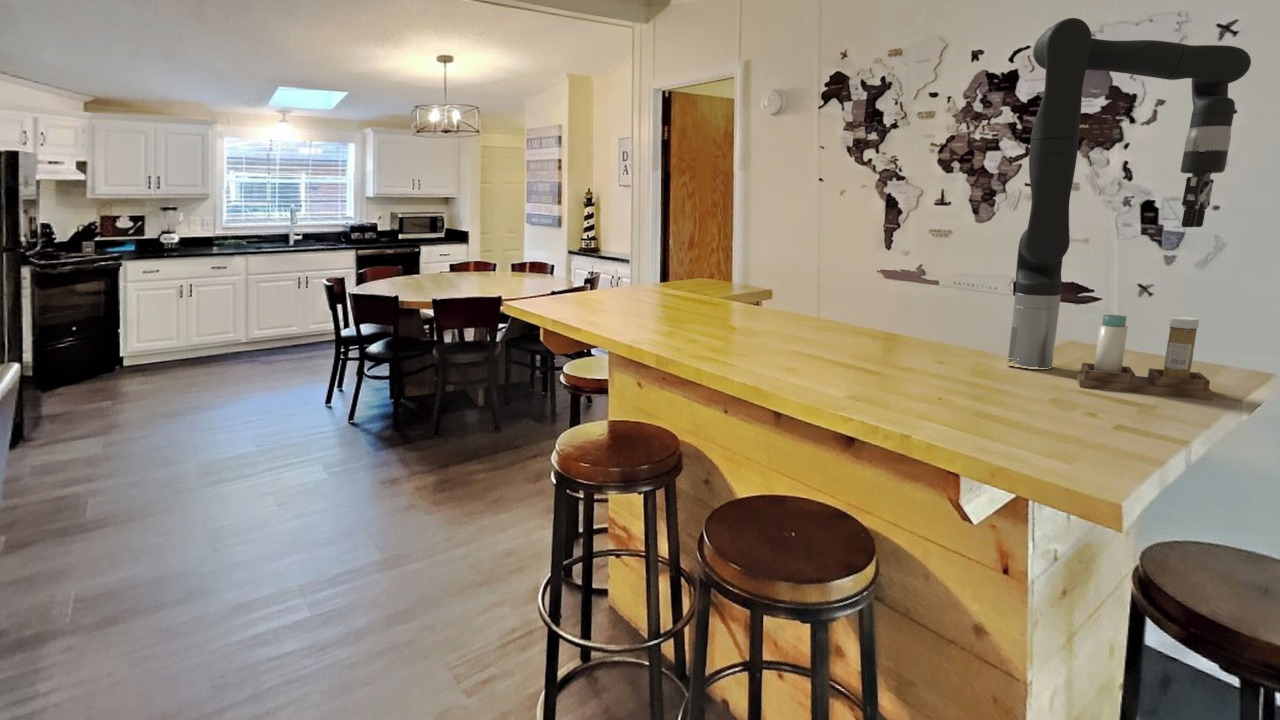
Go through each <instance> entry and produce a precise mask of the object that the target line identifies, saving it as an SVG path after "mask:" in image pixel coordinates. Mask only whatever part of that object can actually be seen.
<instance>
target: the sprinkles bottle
mask: <svg viewBox="0 0 1280 720" xmlns="http://www.w3.org/2000/svg"><path fill="white" fill-rule="evenodd" d="M1199 325H1200V319H1199V318H1196V317H1191V316H1190V317H1189V316H1172V317H1171V318H1170V320H1169V334H1168V340H1167V345H1166V351H1165V352H1166V353H1165V358H1164V365H1163V366H1164V368H1163V370H1164V372H1163V376H1164V377H1175V378H1187V379H1189V376H1190V372H1191V369H1192V364H1193V359H1194V349H1195V344H1196V336H1197V335H1196V334H1197V331H1198V328H1199Z"/></svg>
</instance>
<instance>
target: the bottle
mask: <svg viewBox="0 0 1280 720" xmlns="http://www.w3.org/2000/svg"><path fill="white" fill-rule="evenodd" d="M1127 318H1128V317H1127V316H1126V315H1121V314H1120V315H1119V314H1104V315H1103V317H1102V323H1101V324H1099V328H1098V337H1097V344H1096V352H1095V358H1094V359H1095V360H1094V364H1095V366H1094V370H1095V371H1106V372H1118V373H1121V370H1122V366H1123V363H1124V357H1125V354H1124V353H1125V349H1126V342H1127V333H1128V326H1129V325H1127Z"/></svg>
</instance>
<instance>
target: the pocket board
mask: <svg viewBox="0 0 1280 720" xmlns="http://www.w3.org/2000/svg"><path fill="white" fill-rule="evenodd" d="M1094 366H1095V363H1089V362H1088V363H1087V362H1082V363H1081V369H1080V370H1076V374H1075V375H1076V377H1077V378H1076V381H1077V380H1078V381H1077V384H1078V383H1079V384H1078V386H1080V387H1079V388H1083V387H1089V388H1088V389H1094V388H1101V389H1100V390H1104V389H1109V390H1108V391H1114V390H1116V391H1117V392H1126V393H1137V394H1147V395H1156V396H1157V395H1158V396H1169V397H1177V398H1178V397H1179V398H1187V397H1188V398H1187V399H1197V400H1200V399H1201V400H1206V401H1207V400H1210V401H1213V397H1214V391H1213V390H1212V389H1210V382H1211V381H1210V380H1209V379H1208V378H1207V377H1206V376H1204V375H1203V374H1202V373H1201V372H1200V371H1199V372H1197V371H1190V376H1189V379H1187V378H1175V377H1164V376H1163V372H1164V368H1163V369H1162V368H1161V369H1160V368H1151V367H1149V368H1148V373H1147V376H1140V375H1136V374H1135V371H1133V369H1132V368H1131V366H1128V365H1127V366H1126V365H1124V366H1123V365H1122V370H1121V373H1118V372H1106V371H1095V370H1094ZM1116 391H1115V392H1116Z"/></svg>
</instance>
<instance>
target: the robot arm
mask: <svg viewBox="0 0 1280 720" xmlns="http://www.w3.org/2000/svg"><path fill="white" fill-rule="evenodd" d="M1032 56H1033V59H1034V62H1035V63H1036V64H1037V65H1038V66H1039V67H1040V68H1041V69H1043V70H1045V78H1044V80H1045V81H1044V90H1043V95H1042V99H1041V101H1040V105H1039V108H1038V110H1037V113H1036V116H1035V118H1034V122H1033V125H1032V131H1031V135H1030V141H1029V142H1030V143H1029V155H1028V173H1029V184H1030V193H1031V195H1030V196H1031V204H1030V205H1031V207H1030V213H1029V218H1028V219H1029V220H1028V225H1027V228H1026V229H1025V230H1024V232H1023V233H1022V235H1021V237H1020V239H1019V242H1018V250H1017V258H1016V259H1017V261H1016V272H1015V290H1014V291H1015V293H1014V294H1015V295H1014V304H1013V311H1012V320H1011V327H1010V336H1009V346H1008V347H1009V348H1008V355H1007V363H1008V362H1012V361H1016V362H1013V363H1015V364H1019V365H1021V366H1027V367H1038V368H1049V367H1052V368H1053V361H1054V352H1055V347H1056V346H1055V345H1056V344H1055V343H1056V337H1057V328H1058V321H1059V320H1058V319H1059V313H1060V305H1061V297H1062V288H1063V281H1062V269H1063V268H1062V266H1063V258H1064V257H1065V256H1066V254H1067V252H1068V249H1069V248H1070V242H1071V239H1070V199H1071V193H1072V188H1073V182H1074V178H1075V171H1076V165H1077V164H1076V163H1077V158H1078V150H1079V141H1080V139H1079V138H1080V126H1081V125H1080V124H1081V115H1082V114H1081V113H1082V99H1083V88H1084V87H1083V86H1084V82H1085V81H1084V80H1085V76H1086V71H1101V72H1112V73H1118V74H1119V73H1120V74H1128V75H1135V76H1140V77H1141V76H1142V77H1146V78H1154V79H1155V78H1156V79H1162V80H1171V81H1177V80H1184V79H1191V99H1192V107H1193V108H1192V112H1191V119H1190V121H1189V123H1190V124H1189V129H1188V133H1187V135H1186V139H1185V143H1184V150H1183V156H1182V161H1181V166H1180V173H1182V174H1190V175H1191V176H1187V178H1186V180H1185V181H1186V182H1185V187H1184V192H1183V196H1182V198H1183V199H1182V201H1181V206H1182V209H1183V214H1182V220H1181V227H1182V228H1202V227H1203V225H1204V222H1205V221H1204V220H1205V214H1206V210H1208V208H1209V207H1210V205H1211V197H1212V192H1213V191H1212V190H1213V187H1214V186H1213V185H1214V183H1215V181H1214V178H1212V179H1211V175H1212V174H1222V173H1224V172H1225V170H1226V167H1227V161H1228V160H1227V159H1228V155H1229V149H1230V144H1231V137H1232V125H1233V119H1234V114H1235V105H1236V104H1235V103H1236V102H1235V99H1232V98H1230V97H1229V84H1232V83H1234V82H1237V81H1238V80H1240V79H1241V78H1243V77H1244V76H1245V75H1246V74H1247V73H1248V72H1249V70H1250V67H1251V66H1252V64H1251V63H1252V59H1251V56H1250V53H1248V52H1247V51H1246V50H1245V49H1243V48H1241V47H1238V46H1233V45H1218V44H1216V45H1215V44H1213V45H1210V44H1209V45H1208V44H1203V45H1200V44H1199V45H1194V44H1193V45H1191V44H1186V43H1179V42H1173V41H1164V40H1154V39H1141V40H1140V39H1137V40H1136V39H1135V40H1133V39H1132V40H1113V39H1112V40H1109V39H1107V40H1106V39H1100V38H1094V37H1093V36H1092V30H1091V29H1090V27H1089V25H1088V24H1087V23H1086V22H1085V21H1084V20H1082V19H1080V18H1077V17H1069V18H1065V19H1063V20H1060V21H1058V22H1057V23H1055V24H1054V25H1052V26H1051V27H1049V28H1048V29H1046V30H1045V31H1044V32H1043V33H1042V34H1041V35H1040V36H1039V37H1038V38H1037V40H1036V41H1035V44H1034V46H1033V51H1032ZM1008 358H1014V359H1008ZM1017 359H1019V360H1017ZM1008 360H1009V361H1008Z"/></svg>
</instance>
